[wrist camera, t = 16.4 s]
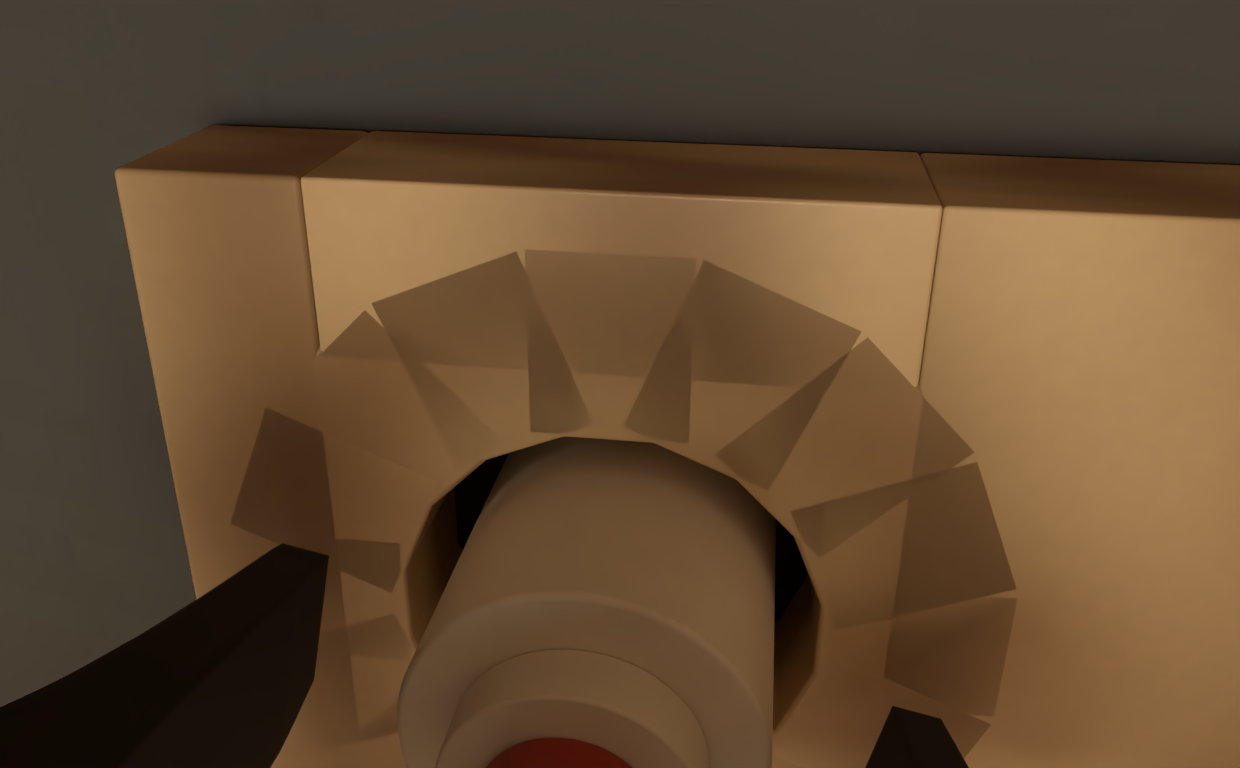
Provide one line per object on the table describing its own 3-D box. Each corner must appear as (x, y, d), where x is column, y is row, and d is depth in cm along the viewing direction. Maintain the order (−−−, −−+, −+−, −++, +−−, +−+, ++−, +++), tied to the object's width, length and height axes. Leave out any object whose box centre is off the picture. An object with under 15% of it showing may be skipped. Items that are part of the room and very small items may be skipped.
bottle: (733, 662, 18) (705, 1087, 12) (476, 593, 18) (311, 979, 12) (811, 435, 16) (827, 800, 10) (522, 359, 16) (354, 673, 10)
